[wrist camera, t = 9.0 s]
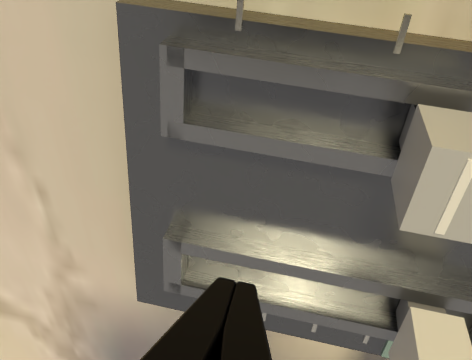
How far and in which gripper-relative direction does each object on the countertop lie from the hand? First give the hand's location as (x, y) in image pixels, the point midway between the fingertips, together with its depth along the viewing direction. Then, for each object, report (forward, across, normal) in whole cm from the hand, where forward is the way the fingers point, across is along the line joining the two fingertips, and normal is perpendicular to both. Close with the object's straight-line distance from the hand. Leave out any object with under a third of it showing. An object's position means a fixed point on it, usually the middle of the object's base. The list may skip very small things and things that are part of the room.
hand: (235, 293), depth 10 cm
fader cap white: (+10, -8, +10) cm, 17 cm away
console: (+12, -4, +6) cm, 14 cm away
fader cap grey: (+10, -6, 0) cm, 12 cm away
